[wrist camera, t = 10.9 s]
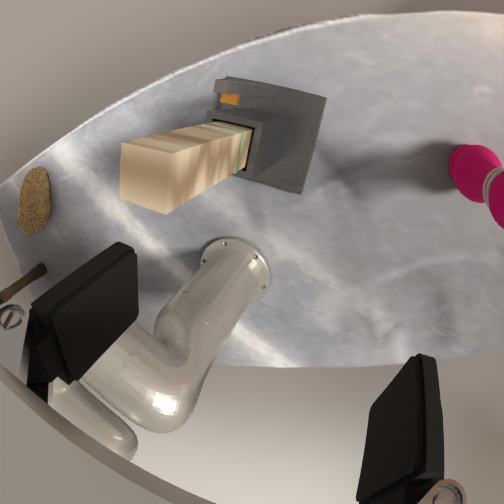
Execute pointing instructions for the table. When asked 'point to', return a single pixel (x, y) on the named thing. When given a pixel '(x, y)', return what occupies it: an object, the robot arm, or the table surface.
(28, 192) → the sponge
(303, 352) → the table surface
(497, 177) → the pepper mill
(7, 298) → the stick grenade
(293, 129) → the grey socket stand
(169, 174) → the post
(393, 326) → the table surface
